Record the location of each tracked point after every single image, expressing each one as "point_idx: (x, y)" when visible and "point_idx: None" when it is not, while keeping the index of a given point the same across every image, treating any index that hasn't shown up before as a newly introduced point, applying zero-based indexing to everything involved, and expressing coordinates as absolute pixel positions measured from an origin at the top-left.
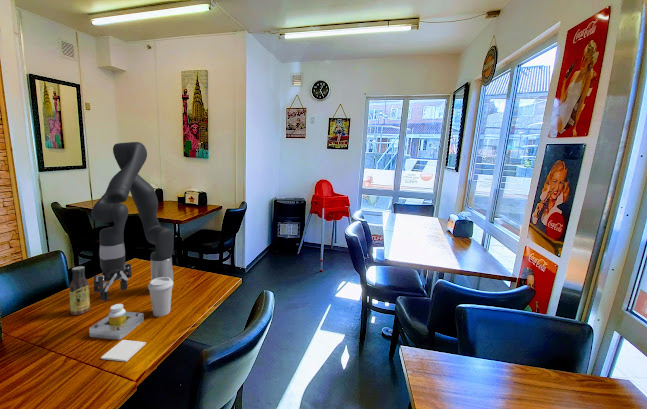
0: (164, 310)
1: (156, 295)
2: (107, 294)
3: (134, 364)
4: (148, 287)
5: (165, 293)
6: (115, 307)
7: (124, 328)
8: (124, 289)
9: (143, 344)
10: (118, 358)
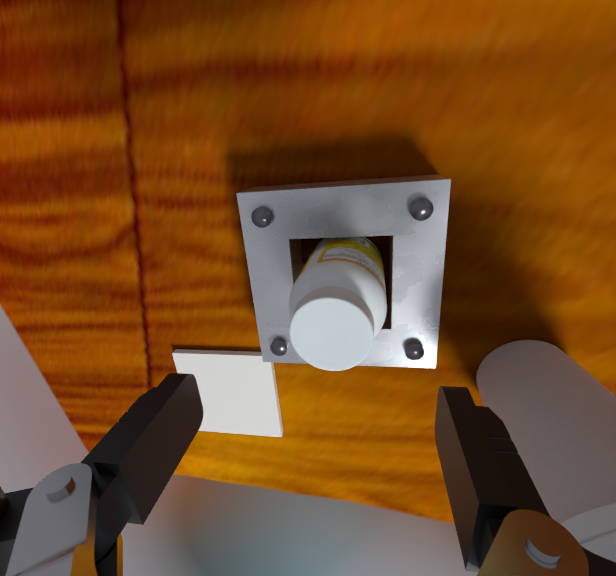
0: None
1: None
2: (159, 480)
3: (197, 449)
4: (576, 535)
5: None
6: (315, 337)
7: (293, 360)
8: (438, 432)
9: (270, 435)
10: None
